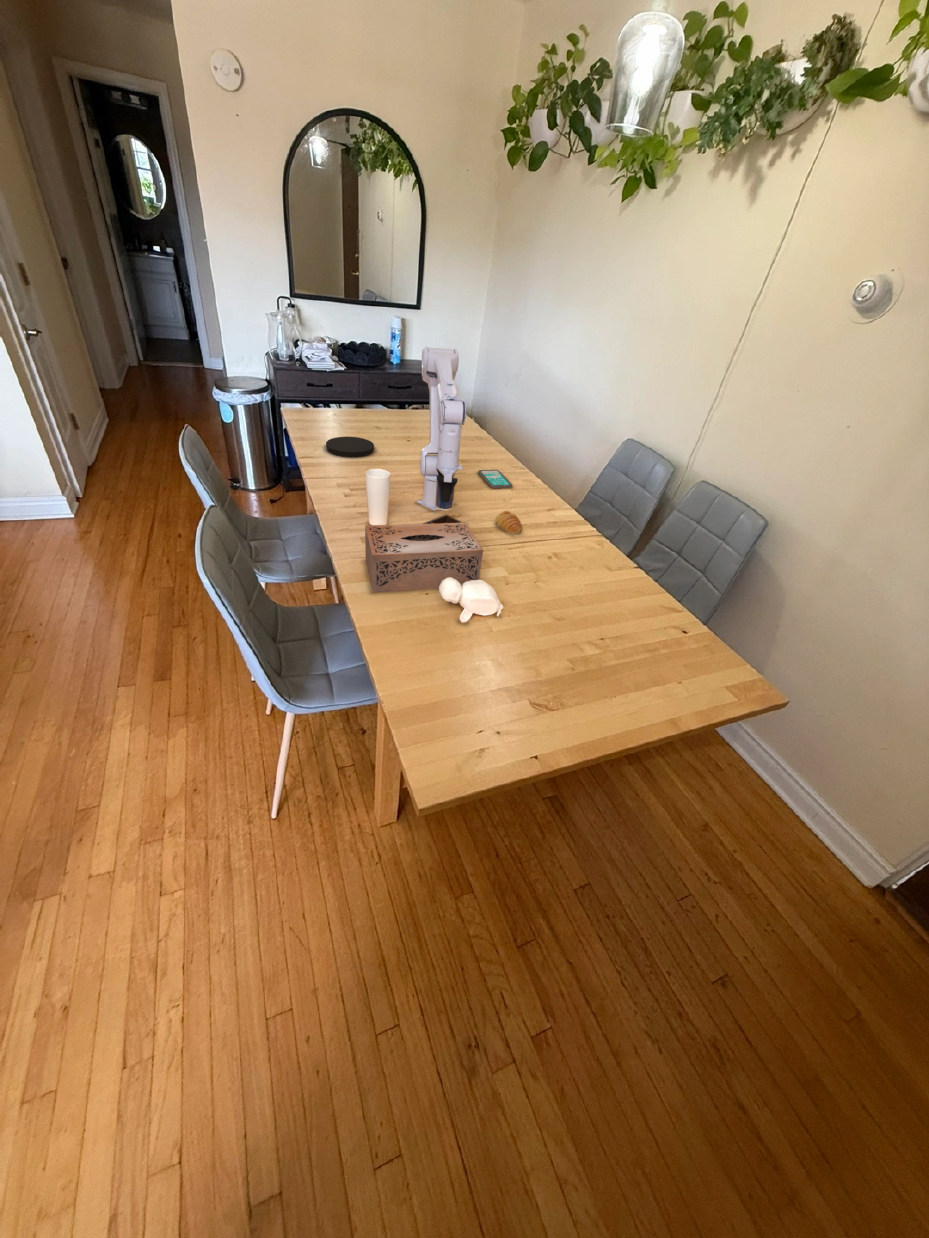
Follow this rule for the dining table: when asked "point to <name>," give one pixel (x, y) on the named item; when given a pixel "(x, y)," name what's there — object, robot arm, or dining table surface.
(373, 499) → the drinking glass
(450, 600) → the white turtle figurine
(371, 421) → the dining table surface
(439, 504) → the cup
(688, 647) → the dining table surface
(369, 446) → the wireless charger
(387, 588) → the tissue box cover
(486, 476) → the smartphone
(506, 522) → the pastry
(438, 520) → the cup holder
